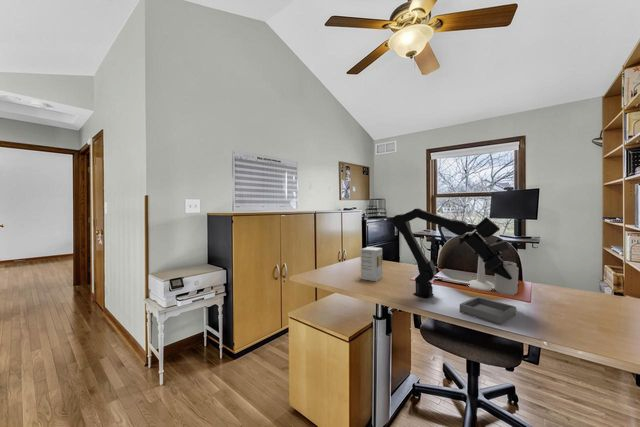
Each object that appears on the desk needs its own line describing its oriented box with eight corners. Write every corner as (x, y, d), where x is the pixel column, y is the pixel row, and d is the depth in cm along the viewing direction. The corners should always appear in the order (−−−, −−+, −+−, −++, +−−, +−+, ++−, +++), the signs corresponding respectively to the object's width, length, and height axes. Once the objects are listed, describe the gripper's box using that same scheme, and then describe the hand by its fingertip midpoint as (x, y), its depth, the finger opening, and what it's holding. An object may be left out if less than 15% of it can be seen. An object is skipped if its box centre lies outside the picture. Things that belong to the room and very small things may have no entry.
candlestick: (461, 282, 140) (462, 225, 139) (486, 282, 140) (487, 224, 138) (474, 290, 127) (475, 227, 126) (502, 290, 127) (503, 227, 125)
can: (520, 296, 101) (522, 265, 100) (497, 294, 103) (498, 263, 103) (513, 290, 108) (514, 260, 107) (491, 288, 111) (492, 259, 110)
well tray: (459, 311, 104) (459, 304, 104) (476, 303, 112) (476, 296, 112) (500, 325, 93) (500, 316, 93) (516, 314, 101) (516, 306, 101)
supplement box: (376, 281, 144) (376, 250, 143) (360, 279, 149) (360, 249, 148) (382, 277, 152) (382, 247, 151) (367, 275, 157) (367, 246, 156)
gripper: (496, 235, 99) (533, 269, 93) (495, 230, 114) (526, 259, 109) (470, 254, 103) (504, 287, 98) (473, 246, 119) (502, 275, 114)
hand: (510, 276), depth 105 cm, fingers closed on can, 7 cm apart
